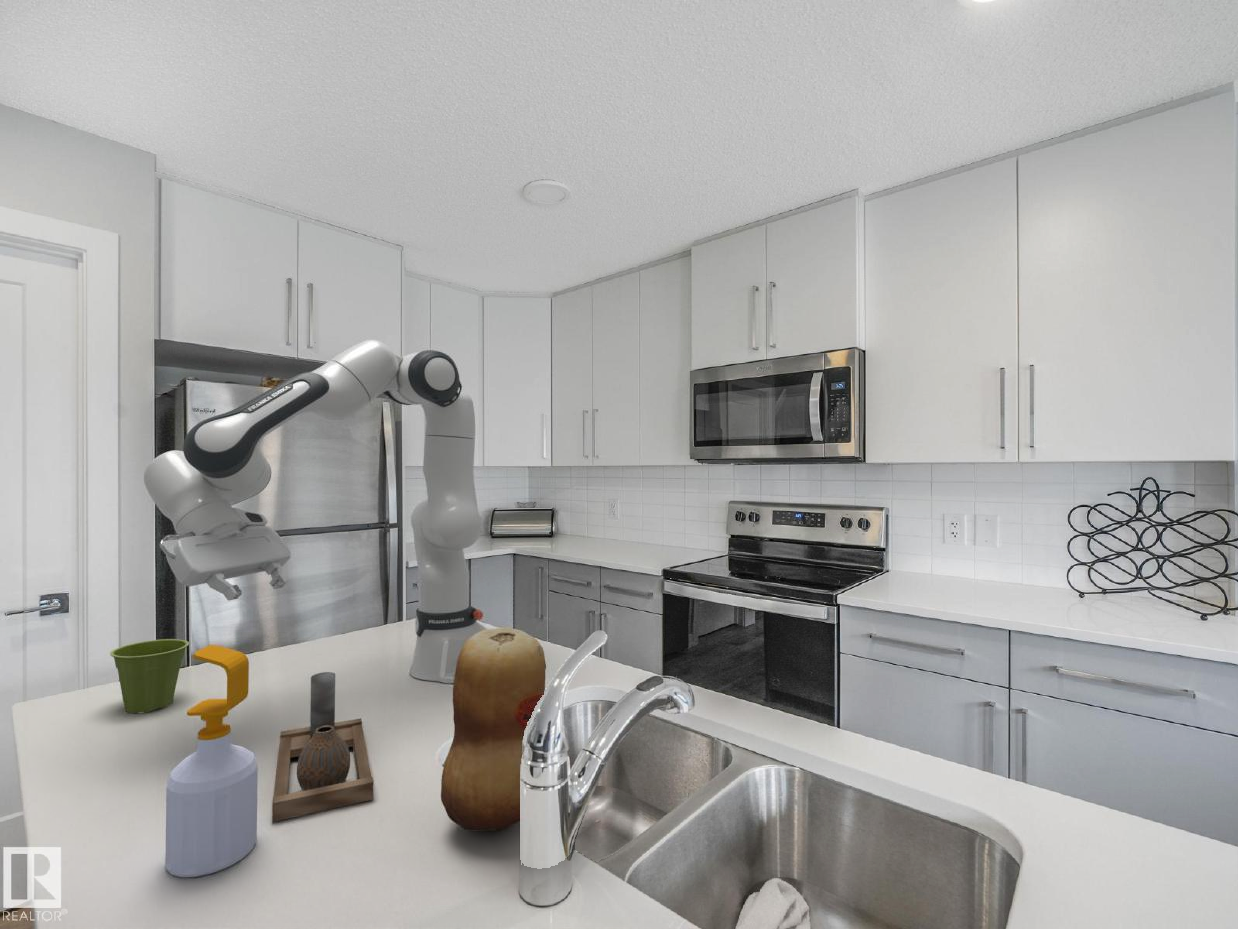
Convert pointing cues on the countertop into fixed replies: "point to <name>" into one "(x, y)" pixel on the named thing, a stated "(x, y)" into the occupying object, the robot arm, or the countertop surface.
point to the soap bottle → (213, 784)
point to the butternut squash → (491, 727)
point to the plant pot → (149, 673)
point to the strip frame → (296, 741)
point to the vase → (323, 760)
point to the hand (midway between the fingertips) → (259, 591)
